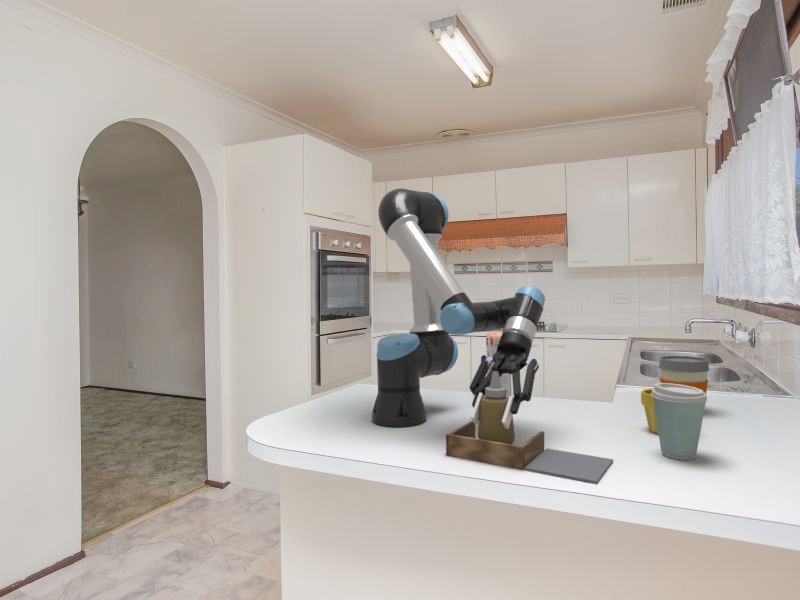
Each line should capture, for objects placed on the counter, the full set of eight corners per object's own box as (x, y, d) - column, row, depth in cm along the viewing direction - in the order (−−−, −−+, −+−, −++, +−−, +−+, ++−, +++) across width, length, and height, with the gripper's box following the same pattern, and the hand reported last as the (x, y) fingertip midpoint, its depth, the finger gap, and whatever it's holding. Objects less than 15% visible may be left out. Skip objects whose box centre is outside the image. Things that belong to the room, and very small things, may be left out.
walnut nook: (446, 454, 114) (445, 434, 114) (472, 439, 125) (472, 420, 125) (523, 469, 104) (523, 447, 104) (544, 451, 115) (544, 431, 115)
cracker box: (486, 395, 173) (485, 332, 172) (504, 395, 173) (503, 332, 172) (492, 405, 159) (491, 337, 158) (512, 405, 159) (511, 336, 158)
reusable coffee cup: (688, 419, 139) (688, 363, 139) (648, 409, 151) (648, 357, 150) (719, 413, 144) (719, 360, 144) (678, 404, 156) (678, 354, 155)
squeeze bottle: (515, 459, 110) (514, 375, 110) (477, 457, 112) (475, 374, 111) (514, 447, 118) (513, 369, 118) (478, 446, 120) (477, 368, 119)
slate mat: (524, 470, 104) (524, 467, 104) (546, 450, 116) (546, 448, 116) (596, 484, 96) (596, 481, 96) (613, 461, 108) (613, 459, 108)
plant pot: (683, 427, 132) (683, 389, 132) (692, 439, 122) (692, 397, 122) (639, 424, 135) (638, 387, 135) (643, 435, 126) (643, 395, 125)
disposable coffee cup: (695, 448, 116) (695, 381, 115) (716, 465, 105) (717, 391, 104) (644, 446, 117) (644, 380, 117) (660, 463, 107) (660, 390, 106)
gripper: (560, 352, 122) (537, 439, 109) (484, 347, 133) (455, 426, 120) (553, 331, 117) (528, 419, 104) (474, 328, 128) (443, 408, 115)
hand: (489, 423), depth 112 cm, fingers closed on squeeze bottle, 6 cm apart
